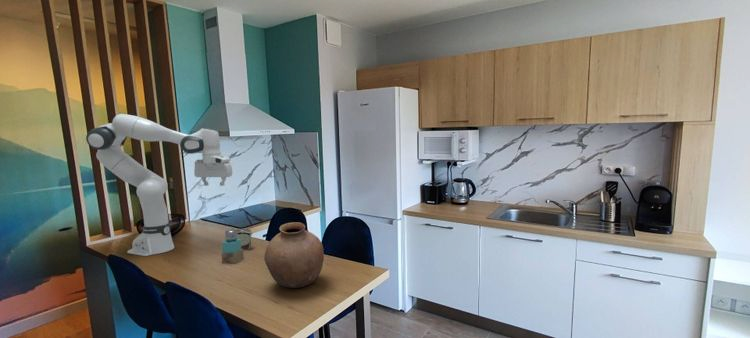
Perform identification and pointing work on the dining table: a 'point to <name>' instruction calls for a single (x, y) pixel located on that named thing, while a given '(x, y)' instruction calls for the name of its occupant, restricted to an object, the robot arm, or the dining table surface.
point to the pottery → (294, 256)
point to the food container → (244, 238)
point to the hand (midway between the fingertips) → (214, 185)
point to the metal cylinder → (231, 235)
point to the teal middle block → (231, 246)
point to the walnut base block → (232, 257)
